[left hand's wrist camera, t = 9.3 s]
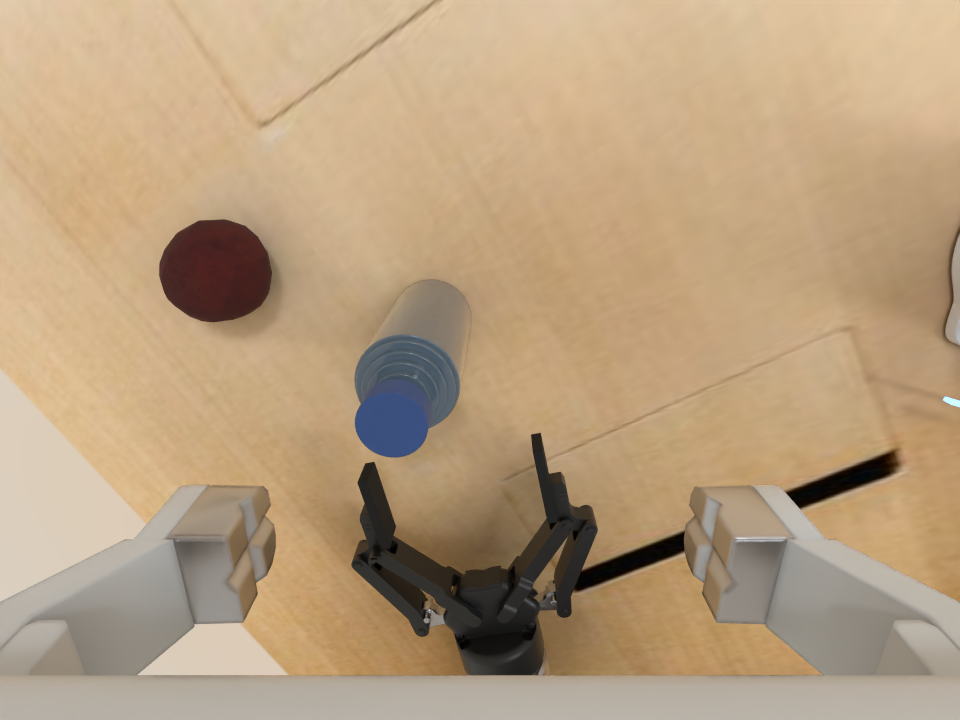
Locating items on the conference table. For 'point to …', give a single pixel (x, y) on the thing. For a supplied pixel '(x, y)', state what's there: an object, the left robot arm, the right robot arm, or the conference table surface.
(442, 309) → the bottle
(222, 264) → the potato
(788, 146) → the conference table surface
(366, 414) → the cap
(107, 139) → the conference table surface
